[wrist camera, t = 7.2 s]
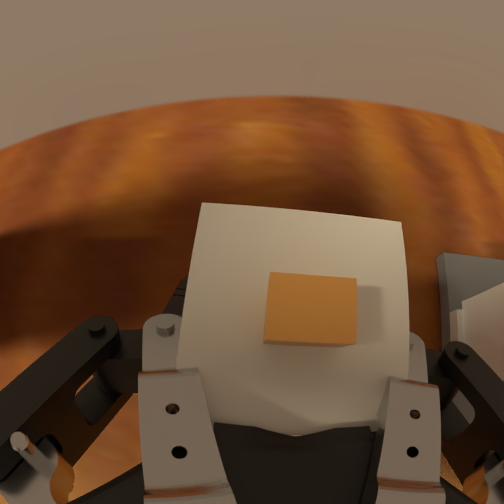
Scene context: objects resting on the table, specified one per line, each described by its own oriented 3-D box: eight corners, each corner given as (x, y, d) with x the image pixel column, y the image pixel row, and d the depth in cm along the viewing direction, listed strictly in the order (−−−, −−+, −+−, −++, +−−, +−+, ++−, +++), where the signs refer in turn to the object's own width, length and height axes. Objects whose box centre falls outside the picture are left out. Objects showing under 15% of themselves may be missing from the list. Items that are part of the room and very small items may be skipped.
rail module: (221, 386, 14) (155, 431, 4) (230, 297, 16) (194, 178, 6) (313, 392, 14) (426, 435, 4) (319, 304, 16) (418, 202, 6)
